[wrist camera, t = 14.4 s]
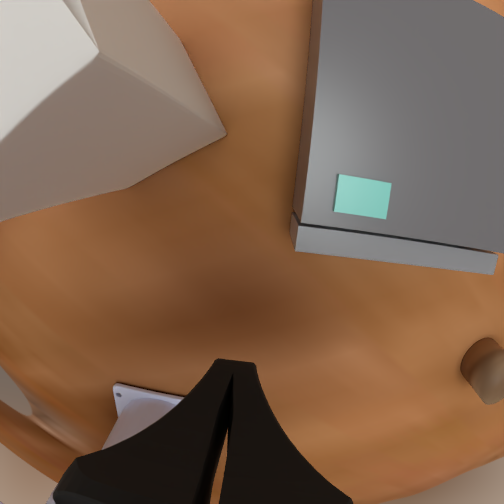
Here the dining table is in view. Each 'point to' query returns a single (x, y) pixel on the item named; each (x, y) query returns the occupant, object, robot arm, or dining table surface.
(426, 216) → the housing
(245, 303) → the dining table surface
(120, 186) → the milk carton
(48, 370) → the dining table surface
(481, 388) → the brown cylinder
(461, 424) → the dining table surface
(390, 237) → the grey drawer
